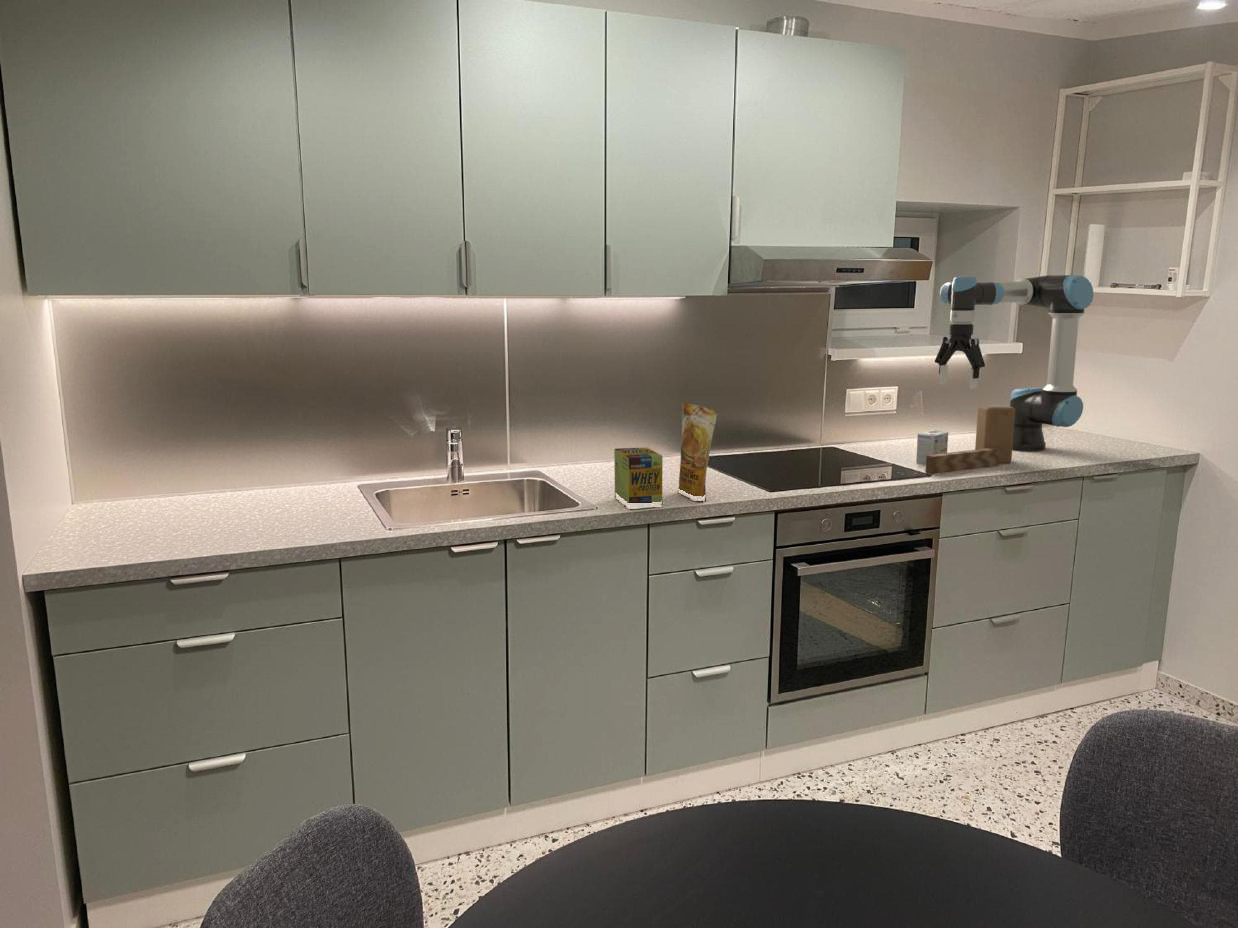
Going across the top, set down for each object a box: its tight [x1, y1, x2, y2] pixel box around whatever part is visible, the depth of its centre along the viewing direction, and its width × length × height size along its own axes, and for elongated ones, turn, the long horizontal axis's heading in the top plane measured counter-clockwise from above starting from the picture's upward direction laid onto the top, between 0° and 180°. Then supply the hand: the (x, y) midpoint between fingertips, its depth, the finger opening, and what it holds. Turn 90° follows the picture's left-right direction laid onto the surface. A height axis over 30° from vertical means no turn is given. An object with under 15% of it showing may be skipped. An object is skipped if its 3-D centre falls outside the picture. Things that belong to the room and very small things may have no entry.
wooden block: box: [974, 403, 1015, 465], centre depth 328 cm, size 10×10×20 cm
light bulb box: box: [915, 429, 949, 465], centre depth 328 cm, size 11×7×11 cm, turn 134°
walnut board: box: [925, 448, 999, 475], centre depth 316 cm, size 30×3×6 cm, turn 115°
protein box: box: [613, 446, 664, 503], centre depth 272 cm, size 10×15×16 cm
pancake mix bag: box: [678, 401, 718, 497], centre depth 278 cm, size 7×19×28 cm, turn 21°
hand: (957, 386), depth 316 cm, fingers open, 13 cm apart
